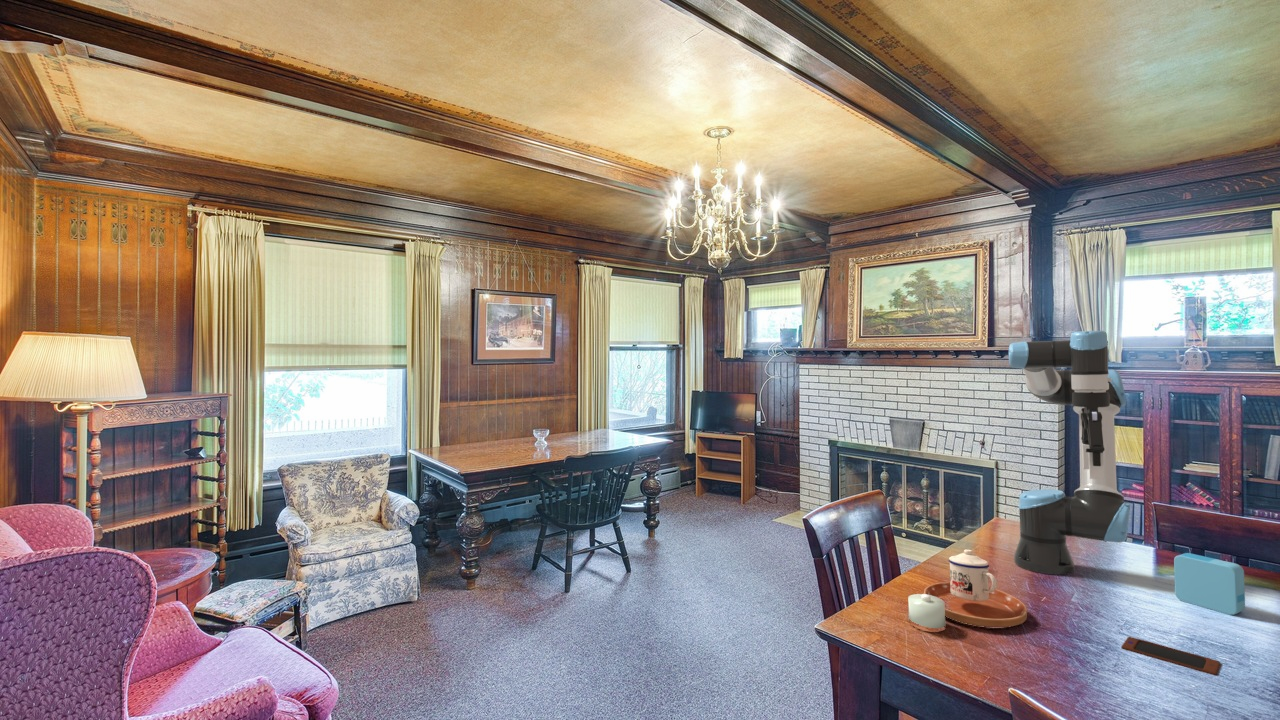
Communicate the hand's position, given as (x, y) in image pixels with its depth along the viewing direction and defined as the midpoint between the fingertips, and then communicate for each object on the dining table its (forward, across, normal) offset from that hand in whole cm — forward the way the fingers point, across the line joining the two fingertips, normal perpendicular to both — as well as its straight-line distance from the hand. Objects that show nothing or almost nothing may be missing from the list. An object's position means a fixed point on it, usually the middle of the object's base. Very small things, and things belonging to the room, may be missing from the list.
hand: (1093, 474), depth 145 cm
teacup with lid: (+31, -17, +26) cm, 44 cm away
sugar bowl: (+35, -30, +36) cm, 58 cm away
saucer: (+35, -16, +27) cm, 47 cm away
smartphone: (+35, -20, -10) cm, 42 cm away
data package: (+35, +16, -24) cm, 45 cm away
